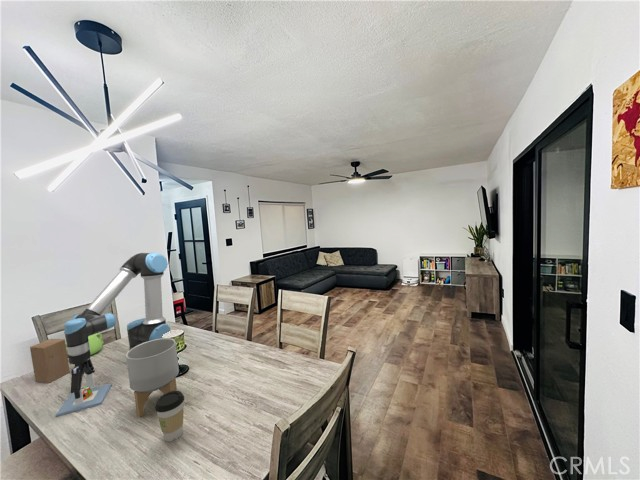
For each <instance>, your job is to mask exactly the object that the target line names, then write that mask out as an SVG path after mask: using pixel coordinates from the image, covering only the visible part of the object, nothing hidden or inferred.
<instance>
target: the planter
mask: <svg viewBox="0 0 640 480" xmlns="http://www.w3.org/2000/svg"><path fill="white" fill-rule="evenodd" d="M125 360H126V367H127V373H128V380H129V381H128V382H129V387H130V390H132V391H133V395H134V397H133V398H134V403H135V411H136V416H137V417H138V418H141V417H142V416H144V415H145V413H144V411H145V405H146V403H147V401H148V399H149V397H150V396H151V394H152V393H153V392H155V391H160V392H162V393H163V395H164V394H166V393H168V392H171V391H177V381H176V377H177V376H178V375H179V372H180V369H179V368H180V367H179V360H178V349H177V344H176V340H175V338H171V337H168V338H161V339H155V340H151V341H148V342H145V343H142V344H140V345H137V346H135V347H134V348H132V349H131V350H129V349H128V351H127V352H126V354H125Z"/></svg>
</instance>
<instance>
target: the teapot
mask: <svg viewBox="0 0 640 480" xmlns="http://www.w3.org/2000/svg"><path fill="white" fill-rule="evenodd" d="M98 336H99V337H98ZM102 338H103V334H102V333H101V332H99V333H96V334H93V335H91V336H88V340H89V346H90V349H89V350H90V354H91V355H94V354H96V353H97V354H98V353H99V352H100V351H101V349H102V347H103V345H104V340H102ZM65 344H66V348H67V343H65ZM66 351H67V354H68V350H66Z"/></svg>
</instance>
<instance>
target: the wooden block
mask: <svg viewBox="0 0 640 480" xmlns="http://www.w3.org/2000/svg"><path fill="white" fill-rule="evenodd" d="M66 344H67V343H66V338H65V339H64V338H50V339H47V340H44V341H41V342H39V343H36V344H33V345H32V346H30V347H29V350H30V355H31V361H32V362H31V363H32V366H33V367H32V368H33V373H34V380H35V382H36V383H43V384H44V383H45V384H50V383H53V382H54V381H56V380H58V379H60V378H61V377H64V376H66V375H68V374H69V373H70V372H71V370H70V366H69V364H70V363H69V358H68V353H67V351H66Z"/></svg>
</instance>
